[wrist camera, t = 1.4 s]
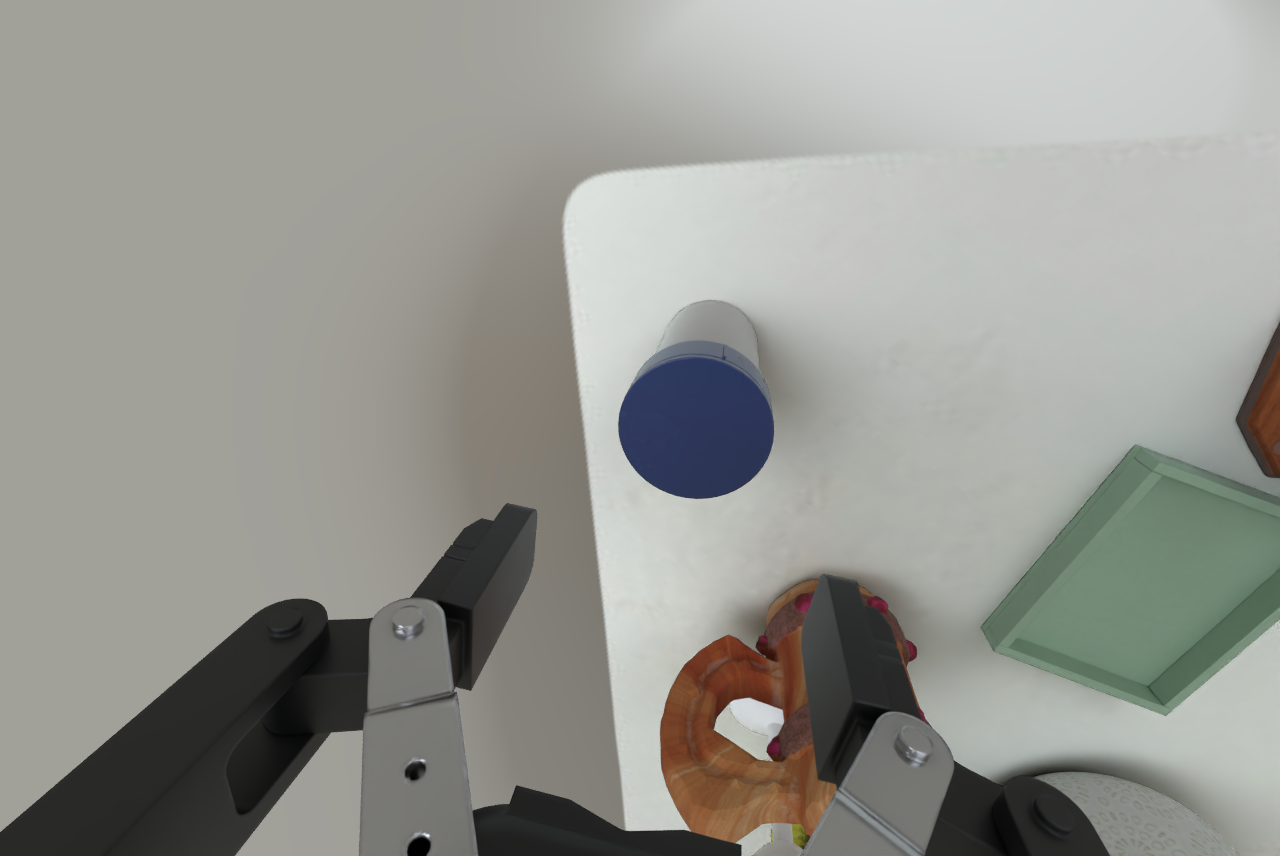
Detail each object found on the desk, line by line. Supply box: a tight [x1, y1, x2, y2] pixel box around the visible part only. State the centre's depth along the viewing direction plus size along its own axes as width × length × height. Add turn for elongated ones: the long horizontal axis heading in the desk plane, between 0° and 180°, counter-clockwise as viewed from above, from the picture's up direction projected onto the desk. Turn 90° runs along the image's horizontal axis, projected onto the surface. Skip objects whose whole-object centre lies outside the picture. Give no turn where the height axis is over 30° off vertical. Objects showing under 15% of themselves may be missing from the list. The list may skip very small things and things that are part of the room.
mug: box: [660, 579, 932, 843], centre depth 31 cm, size 15×8×15 cm, turn 92°
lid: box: [618, 340, 774, 499], centre depth 22 cm, size 6×6×2 cm
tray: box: [981, 445, 1280, 716], centre depth 32 cm, size 14×11×2 cm
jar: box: [655, 300, 760, 371], centre depth 26 cm, size 5×5×11 cm
